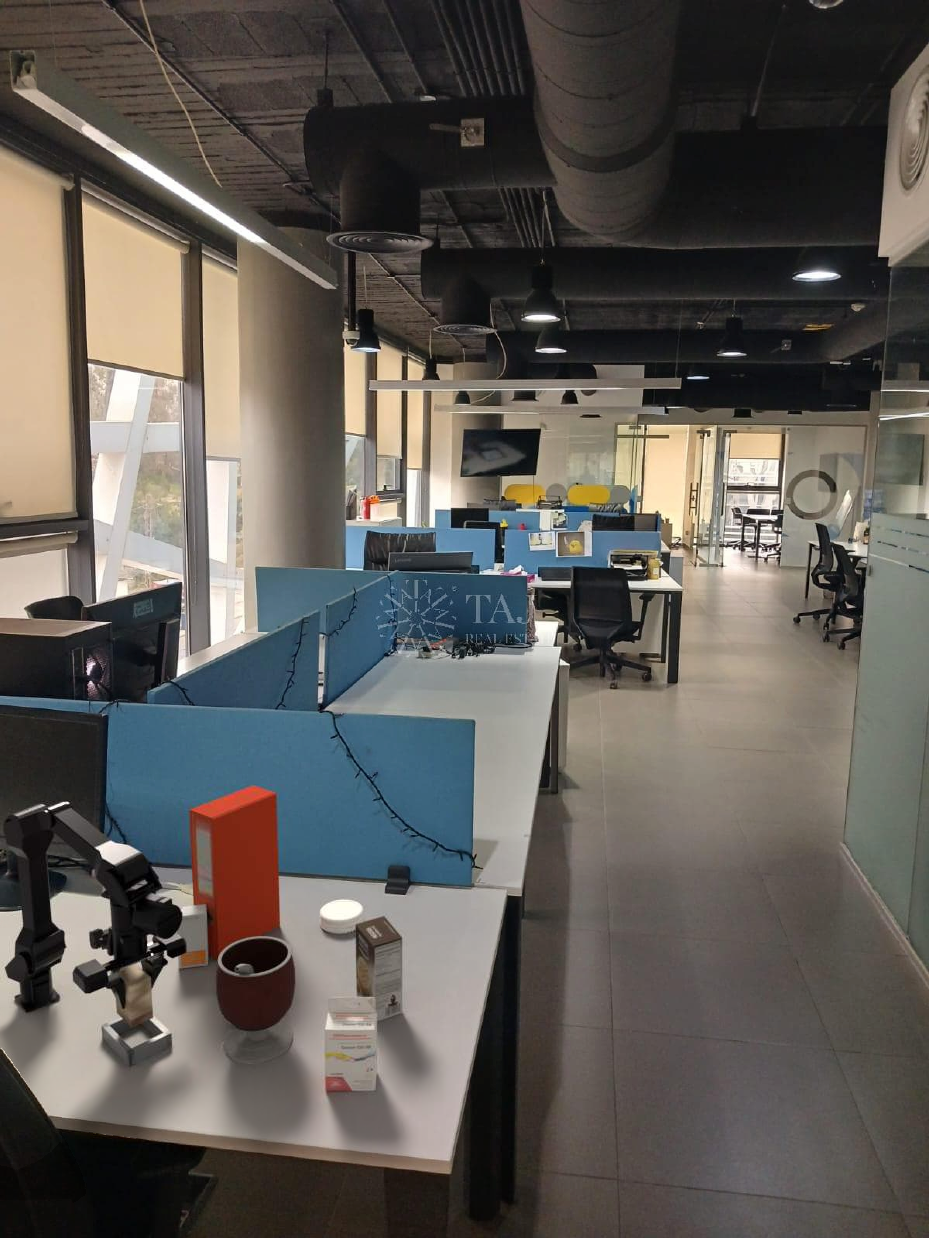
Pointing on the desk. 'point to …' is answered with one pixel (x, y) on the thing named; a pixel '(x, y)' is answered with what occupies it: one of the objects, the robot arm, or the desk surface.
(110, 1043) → the collar
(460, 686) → the desk surface
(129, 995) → the block
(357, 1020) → the ink cartridge box
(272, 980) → the mate gourd
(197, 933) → the skincare box
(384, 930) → the coffee box
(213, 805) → the file binder
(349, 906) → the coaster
